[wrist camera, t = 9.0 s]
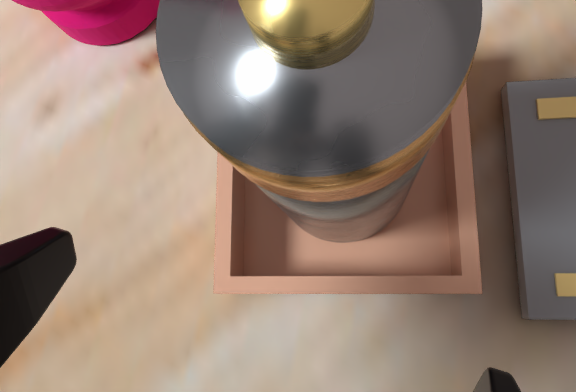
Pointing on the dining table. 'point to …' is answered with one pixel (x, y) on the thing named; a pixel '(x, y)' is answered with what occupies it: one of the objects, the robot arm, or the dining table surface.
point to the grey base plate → (543, 193)
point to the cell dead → (321, 96)
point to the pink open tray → (365, 253)
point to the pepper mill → (98, 18)
